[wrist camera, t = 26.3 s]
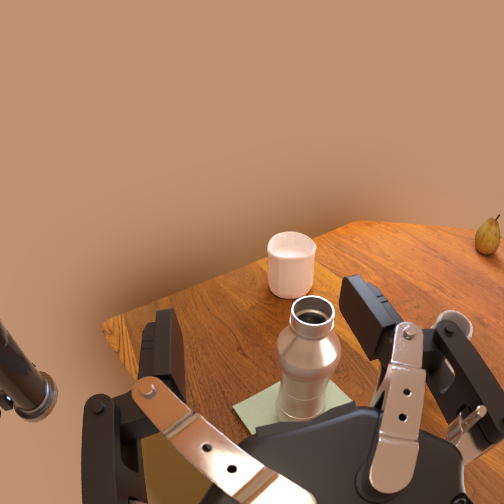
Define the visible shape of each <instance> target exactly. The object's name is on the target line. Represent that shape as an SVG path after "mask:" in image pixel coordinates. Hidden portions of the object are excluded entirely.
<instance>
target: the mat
mask: <svg viewBox="0 0 504 504" xmlns="http://www.w3.org/2000/svg"><path fill="white" fill-rule="evenodd" d="M279 389H280V382H278V383H276V384H274V385H272V386H271V387H269V388H267V389H265V390H263V391H261V392H259V393H258V394H256V395H254V396H252V397H250V398H248V399H246V400H244V401H242V402H240V403H238V404H236V405H234V406H233V408H234V410H235V411H236V413H237V414H238V416H239V417H240V419H241V420H242V422H243V423H244V424H245V426H246V427H247V429H248V430H249V432H250V433H251V434H252V435H253V434H255V433H256V430H255V427H259V426H264V425H269V424H273V423H278V422H281V421H280V419H279V418H278V415H277V413H276V410H275V401H276V398H277V395H278V392H279ZM325 398H326V410H325V412H326V411H327V410H329V409H331V408H333V407H336V406H340V405H343V404H346V403H349V402H351V401H352V400H351V399H350V398H349V397H348V396H346V395H345V394H344V393H343V392H342V391H341V390H340V389H339V388H338V387H337V386H336V385H335V384H334V383H333V382H332V381H331V380H329V383H328V386H327V389H326V396H325ZM356 406H357V405H356Z"/></svg>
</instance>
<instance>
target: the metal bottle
mask: <svg viewBox="0 0 504 504" xmlns="http://www.w3.org/2000/svg"><path fill="white" fill-rule="evenodd" d="M333 319H334V308H333V306H332V304H331V303H330V302H329V301H327V300H326V299H324V298H321V297H318V296H305V297H302V298H299V299H298V300H296V301H295V302H294V304H293V306H292V309H291V316H290V322H289V325H288V326H286V327H285V328H284V329H283V330H282V331H281V333H280V334H279V336H278V338H277V341H276V344H275V356H276V361H277V365H278V369H279V373H280V389H279V392H278V395H277V398H276V401H275V410H276V413H277V415H278V418H279V419H280V421H281V422H298V421H310V420H312V419H314V418H315V417H317V416H319V415H321V414H322V413H324V412H325V410H326V398H325V396H326V389H327V386H328V383H329V380H330V378H331V376H332V375H333V373H334V371H335V369H336V367H337V365H338V362H339V360H340V357H341V347H340V342H339V339H338V337H337V335H336V334H335V332H334V331H333V325H334V321H333Z"/></svg>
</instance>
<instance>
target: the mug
mask: <svg viewBox="0 0 504 504" xmlns="http://www.w3.org/2000/svg"><path fill="white" fill-rule="evenodd" d="M444 319H447V320H451V321H453V322H455V323H456V324H457V325H458V326H459V327H460V329H461V330H462V331H463V333H464V334H465V335H466V337H467V338H468V339H469V340H470V338H471V336H472V332H473V326H472V325H471V322H470V321H469V320H468V319H467V318H466V317H465V316H464V315H463V314H462V313H460V312H459V313H458V311H454V310H447V311H444V312H443V313H441V314H440V315H439V316H438V318H437V320H436V322H435V324H434V325H433V326H432V327H431V328H430V329H433V328H435V327H436V325H437V323H438V322H439V321H441V320H444ZM445 362H446V364H447V365H448V367H449V368H450V370H451V371H452V372H453V368H452V367H451V365H450V364H449V362H448V360H447V359H446V360H445Z"/></svg>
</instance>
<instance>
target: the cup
mask: <svg viewBox="0 0 504 504" xmlns="http://www.w3.org/2000/svg"><path fill="white" fill-rule="evenodd" d="M315 250H316V245H315V243H314V242H313V240H312V239H310V238H309V237H308V236H306V235H303V234H301V233H297V232H283V233H279V234H277V235H275V236H273V237H272V239H271V240H270V241H269V244H268V247H267V251H268V258H269V265H268V284H269V287H270V290H271V291H272V292H273V293H274V294H275V295H276V296H278V297H281V298H286V299H294V298H300V297H302V296H304V295H306V294H307V293H308V292H309V291H310V289H311V286H312V284H313V278H314V256H315Z"/></svg>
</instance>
